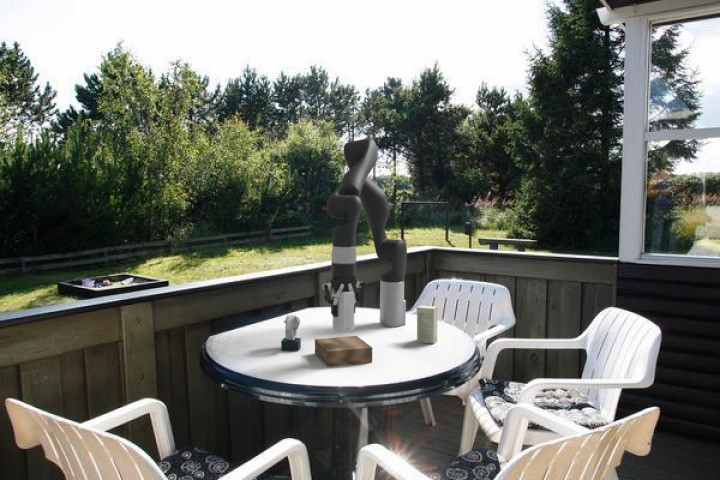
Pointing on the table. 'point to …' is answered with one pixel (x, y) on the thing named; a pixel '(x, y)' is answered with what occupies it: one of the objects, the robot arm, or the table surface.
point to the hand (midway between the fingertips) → (343, 315)
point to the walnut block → (343, 351)
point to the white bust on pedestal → (291, 334)
